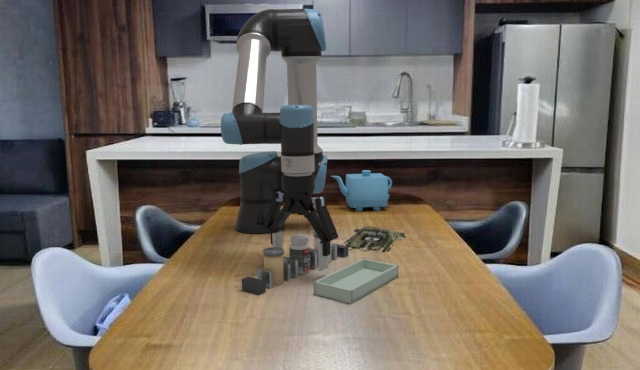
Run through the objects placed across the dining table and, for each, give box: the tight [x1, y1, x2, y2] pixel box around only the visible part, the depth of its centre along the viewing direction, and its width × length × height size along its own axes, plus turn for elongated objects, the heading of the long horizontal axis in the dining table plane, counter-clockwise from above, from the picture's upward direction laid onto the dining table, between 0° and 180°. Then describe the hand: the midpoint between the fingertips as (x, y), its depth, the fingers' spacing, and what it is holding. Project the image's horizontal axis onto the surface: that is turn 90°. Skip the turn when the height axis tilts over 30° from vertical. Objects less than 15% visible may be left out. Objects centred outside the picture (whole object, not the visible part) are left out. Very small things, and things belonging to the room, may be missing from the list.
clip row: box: [241, 242, 349, 296], centre depth 125 cm, size 5×33×4 cm, turn 143°
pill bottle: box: [288, 233, 311, 275], centre depth 124 cm, size 5×5×8 cm
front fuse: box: [262, 246, 285, 287], centre depth 117 cm, size 4×4×7 cm
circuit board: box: [341, 226, 407, 253], centre depth 151 cm, size 25×18×4 cm
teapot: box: [330, 169, 393, 213], centre depth 190 cm, size 22×11×14 cm, turn 96°
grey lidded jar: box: [312, 231, 333, 264], centre depth 131 cm, size 4×4×7 cm
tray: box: [313, 258, 399, 304], centre depth 115 cm, size 9×19×3 cm, turn 143°
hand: (299, 263), depth 125 cm, fingers open, 13 cm apart
